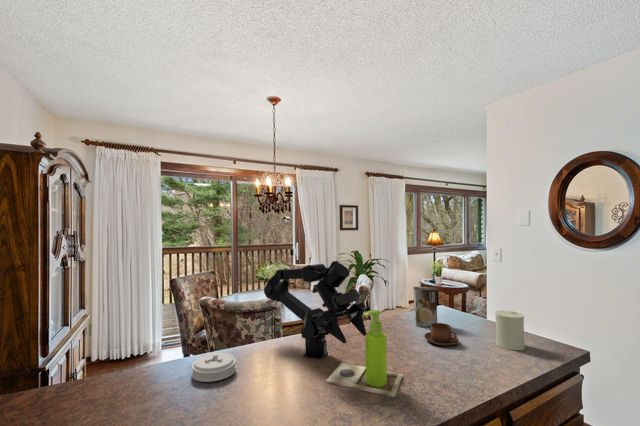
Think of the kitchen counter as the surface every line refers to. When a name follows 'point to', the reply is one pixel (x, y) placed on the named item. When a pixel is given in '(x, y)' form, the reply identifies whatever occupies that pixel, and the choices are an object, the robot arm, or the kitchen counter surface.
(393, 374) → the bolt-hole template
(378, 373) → the soap dispenser
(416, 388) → the kitchen counter surface
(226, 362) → the lid
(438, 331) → the cup and saucer
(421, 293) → the coffee box
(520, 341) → the can
